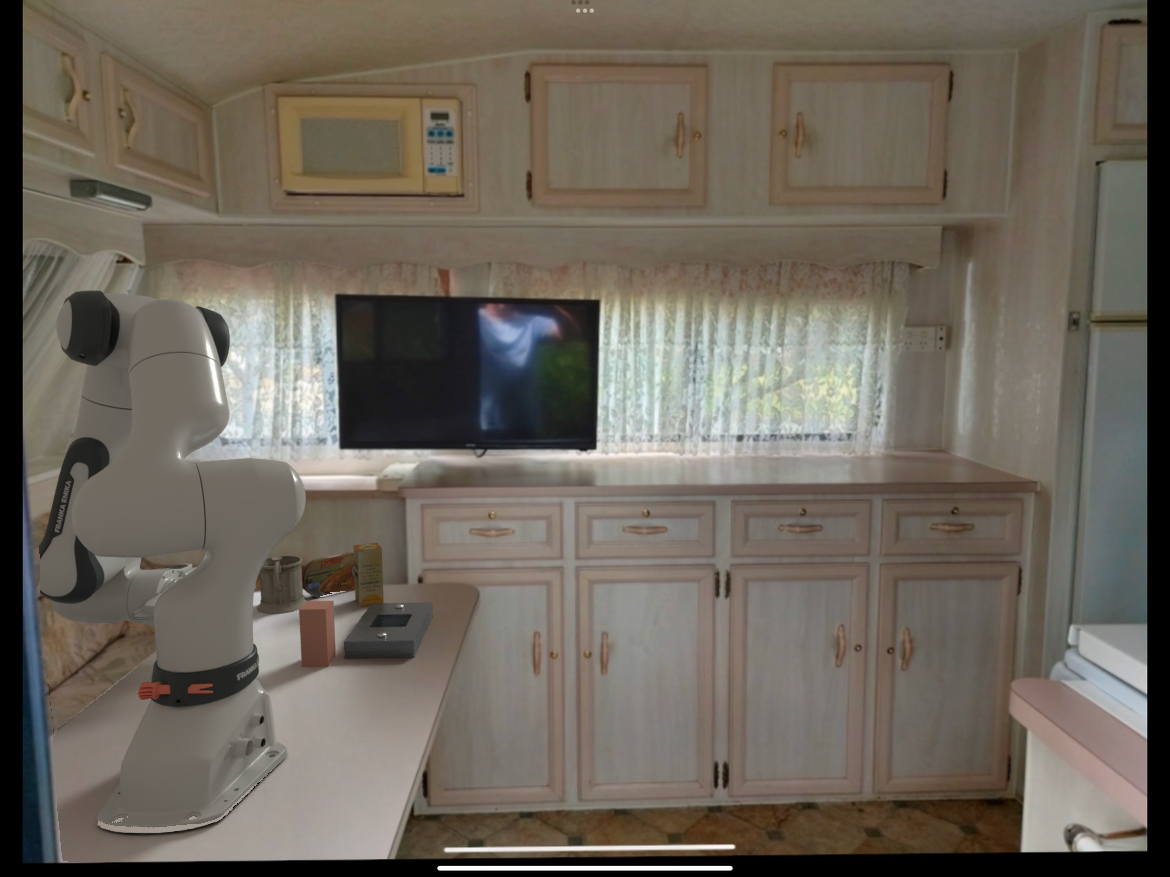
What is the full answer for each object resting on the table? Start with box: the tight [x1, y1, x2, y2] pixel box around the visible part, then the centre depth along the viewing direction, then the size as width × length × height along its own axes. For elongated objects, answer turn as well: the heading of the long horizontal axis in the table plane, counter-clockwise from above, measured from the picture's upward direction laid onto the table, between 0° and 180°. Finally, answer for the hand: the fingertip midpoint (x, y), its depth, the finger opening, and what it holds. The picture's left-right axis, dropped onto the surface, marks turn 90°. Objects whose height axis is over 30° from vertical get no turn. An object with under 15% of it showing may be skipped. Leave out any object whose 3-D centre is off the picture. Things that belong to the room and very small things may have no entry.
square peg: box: [298, 600, 337, 668], centre depth 127 cm, size 4×4×10 cm
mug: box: [256, 555, 308, 615], centre depth 153 cm, size 14×10×12 cm
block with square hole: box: [343, 601, 434, 659], centre depth 139 cm, size 20×12×3 cm, turn 2°
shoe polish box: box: [353, 542, 385, 608], centre depth 158 cm, size 5×5×12 cm
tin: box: [302, 552, 355, 598], centre depth 164 cm, size 15×3×8 cm, turn 133°
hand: (243, 595), depth 126 cm, fingers open, 8 cm apart
